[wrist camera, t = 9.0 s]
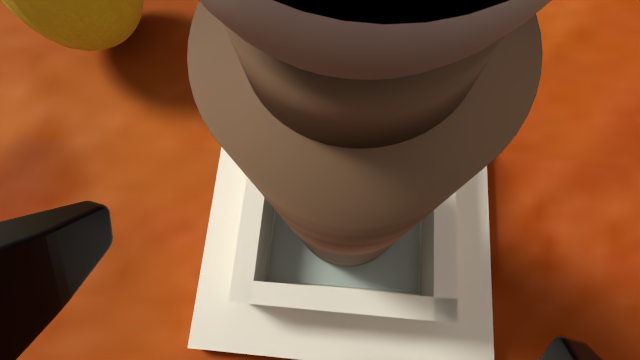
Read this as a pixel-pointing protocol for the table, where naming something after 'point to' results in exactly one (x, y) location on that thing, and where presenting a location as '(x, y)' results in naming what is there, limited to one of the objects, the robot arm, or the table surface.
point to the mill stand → (344, 284)
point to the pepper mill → (363, 105)
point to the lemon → (80, 20)
